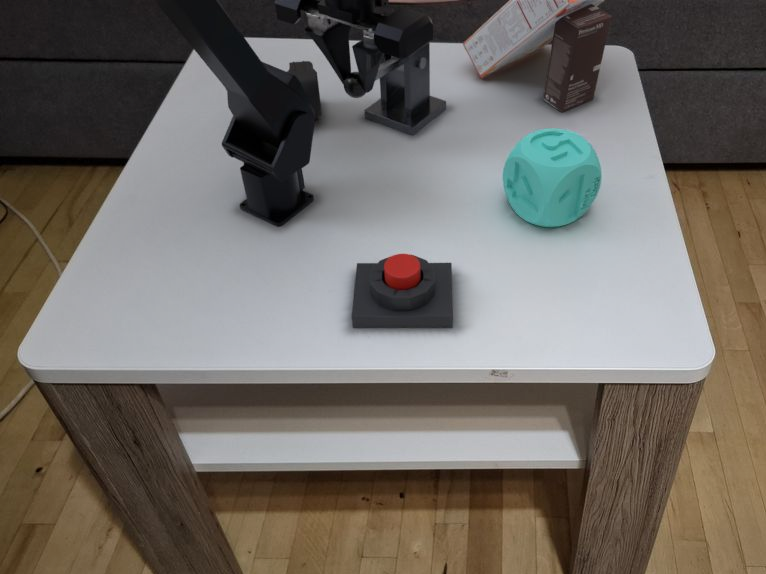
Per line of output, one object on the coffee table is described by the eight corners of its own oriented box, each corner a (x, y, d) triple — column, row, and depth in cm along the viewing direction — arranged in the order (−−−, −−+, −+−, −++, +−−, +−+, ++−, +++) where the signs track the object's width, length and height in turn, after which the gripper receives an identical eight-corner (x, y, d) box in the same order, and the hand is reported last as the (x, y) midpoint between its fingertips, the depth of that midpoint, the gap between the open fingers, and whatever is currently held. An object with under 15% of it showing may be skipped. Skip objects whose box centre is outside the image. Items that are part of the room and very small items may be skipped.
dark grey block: (248, 136, 100) (238, 89, 95) (248, 108, 104) (239, 62, 99) (323, 129, 100) (317, 82, 95) (320, 102, 105) (315, 55, 100)
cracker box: (525, 11, 113) (623, -71, 95) (543, 48, 114) (644, -26, 96) (459, 41, 107) (550, -41, 89) (479, 80, 108) (573, 7, 90)
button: (384, 290, 74) (383, 277, 73) (385, 266, 77) (384, 253, 76) (420, 290, 74) (420, 277, 73) (420, 266, 77) (420, 253, 75)
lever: (358, 104, 90) (357, 80, 88) (339, 97, 91) (337, 73, 89) (419, 68, 98) (420, 45, 96) (400, 62, 99) (401, 39, 97)
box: (563, 114, 101) (577, 27, 92) (541, 99, 104) (553, 13, 95) (596, 101, 104) (613, 14, 95) (574, 86, 106) (589, 1, 97)
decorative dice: (542, 237, 84) (550, 177, 78) (499, 201, 89) (504, 141, 83) (596, 212, 87) (608, 152, 81) (552, 178, 92) (560, 120, 86)
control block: (352, 328, 75) (349, 303, 73) (358, 274, 81) (355, 249, 78) (452, 328, 75) (453, 303, 72) (451, 274, 80) (451, 249, 78)
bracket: (413, 135, 99) (411, 64, 91) (364, 118, 102) (359, 48, 95) (446, 109, 103) (447, 39, 96) (399, 92, 106) (396, 24, 99)
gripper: (461, -58, 80) (458, 80, 92) (326, -89, 88) (339, 41, 99) (401, -21, 74) (405, 121, 86) (261, -58, 82) (283, 77, 93)
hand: (357, 87), depth 91 cm, fingers closed on lever, 3 cm apart
